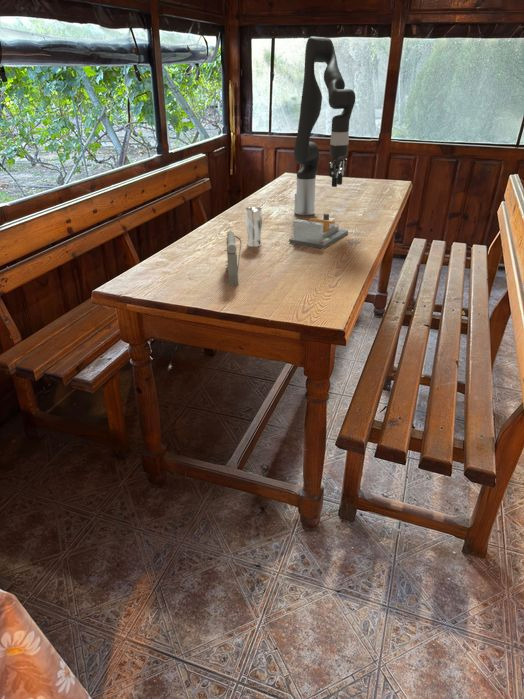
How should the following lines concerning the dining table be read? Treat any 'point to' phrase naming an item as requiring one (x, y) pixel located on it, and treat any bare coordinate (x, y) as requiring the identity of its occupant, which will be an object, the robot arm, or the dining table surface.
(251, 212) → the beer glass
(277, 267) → the dining table surface
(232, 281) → the geiger counter
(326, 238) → the tester base
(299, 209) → the robot arm
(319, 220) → the peak pointer
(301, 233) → the brushed metal plate
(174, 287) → the dining table surface
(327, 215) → the spring plunger
